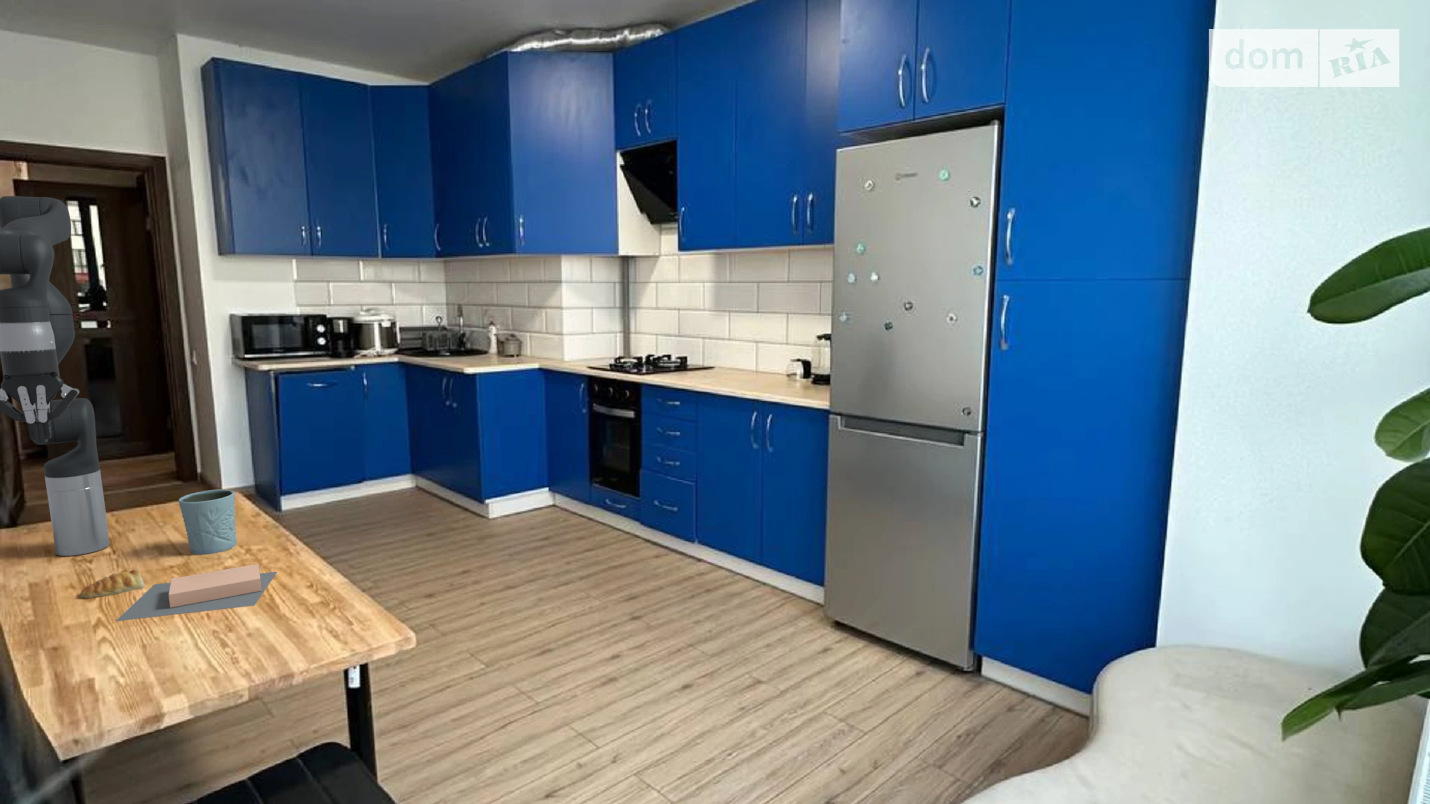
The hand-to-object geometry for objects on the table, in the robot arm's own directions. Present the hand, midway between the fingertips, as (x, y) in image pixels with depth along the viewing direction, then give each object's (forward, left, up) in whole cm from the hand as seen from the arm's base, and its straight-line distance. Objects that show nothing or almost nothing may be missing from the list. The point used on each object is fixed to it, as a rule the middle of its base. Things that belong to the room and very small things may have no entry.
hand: (41, 442), depth 140 cm
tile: (+12, +21, -27) cm, 36 cm away
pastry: (+2, +10, -30) cm, 31 cm away
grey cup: (-20, +19, -29) cm, 40 cm away
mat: (+10, +26, -29) cm, 40 cm away
